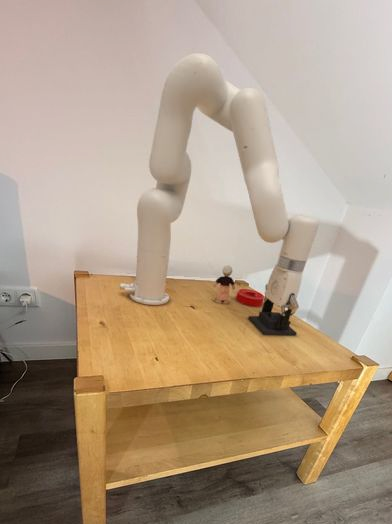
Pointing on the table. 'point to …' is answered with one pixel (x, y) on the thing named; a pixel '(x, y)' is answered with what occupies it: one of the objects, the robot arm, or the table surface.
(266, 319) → the top pad
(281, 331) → the base pad
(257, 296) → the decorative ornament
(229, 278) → the grandmother figurine
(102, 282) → the table surface
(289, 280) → the robot arm
